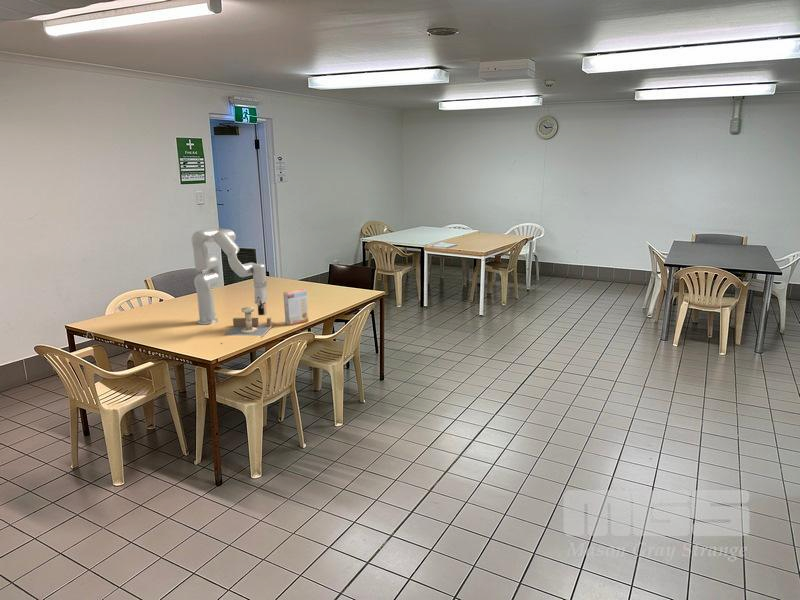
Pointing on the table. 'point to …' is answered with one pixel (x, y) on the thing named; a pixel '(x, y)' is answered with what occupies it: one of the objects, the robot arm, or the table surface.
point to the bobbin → (248, 320)
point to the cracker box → (295, 306)
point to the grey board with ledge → (241, 323)
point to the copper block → (264, 308)
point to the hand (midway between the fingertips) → (262, 313)
